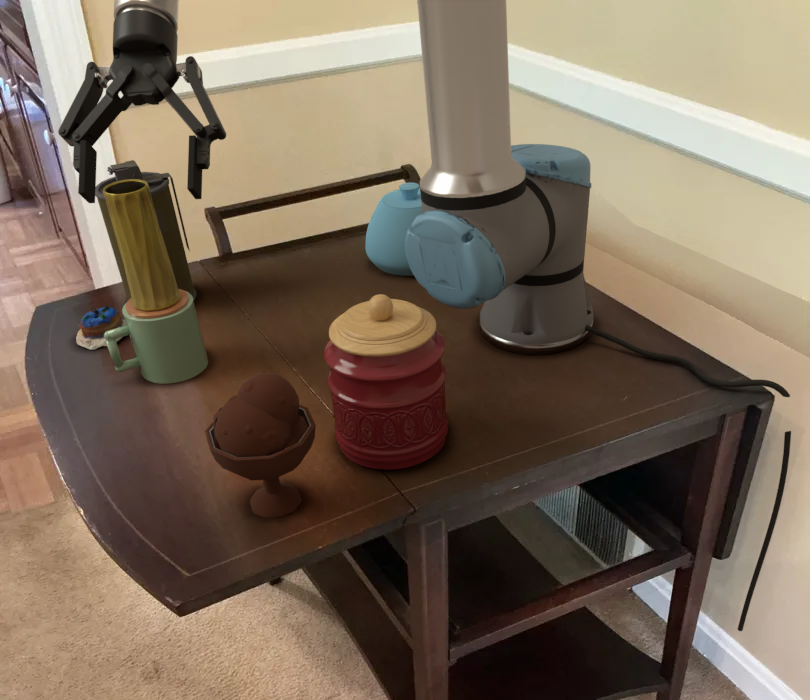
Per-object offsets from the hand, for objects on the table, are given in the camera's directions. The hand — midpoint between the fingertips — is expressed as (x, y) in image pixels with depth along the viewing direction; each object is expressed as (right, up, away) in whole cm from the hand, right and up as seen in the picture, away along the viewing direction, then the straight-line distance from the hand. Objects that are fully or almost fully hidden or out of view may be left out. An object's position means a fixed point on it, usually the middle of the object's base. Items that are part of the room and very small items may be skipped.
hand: (140, 196), depth 102 cm
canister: (-5, -5, +28) cm, 29 cm away
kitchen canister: (+31, -30, -4) cm, 43 cm away
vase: (0, -11, +6) cm, 13 cm away
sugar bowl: (+33, +3, +33) cm, 47 cm away
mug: (0, -19, +11) cm, 22 cm away
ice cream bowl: (+18, -38, -12) cm, 43 cm away
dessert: (-12, -12, +20) cm, 26 cm away
